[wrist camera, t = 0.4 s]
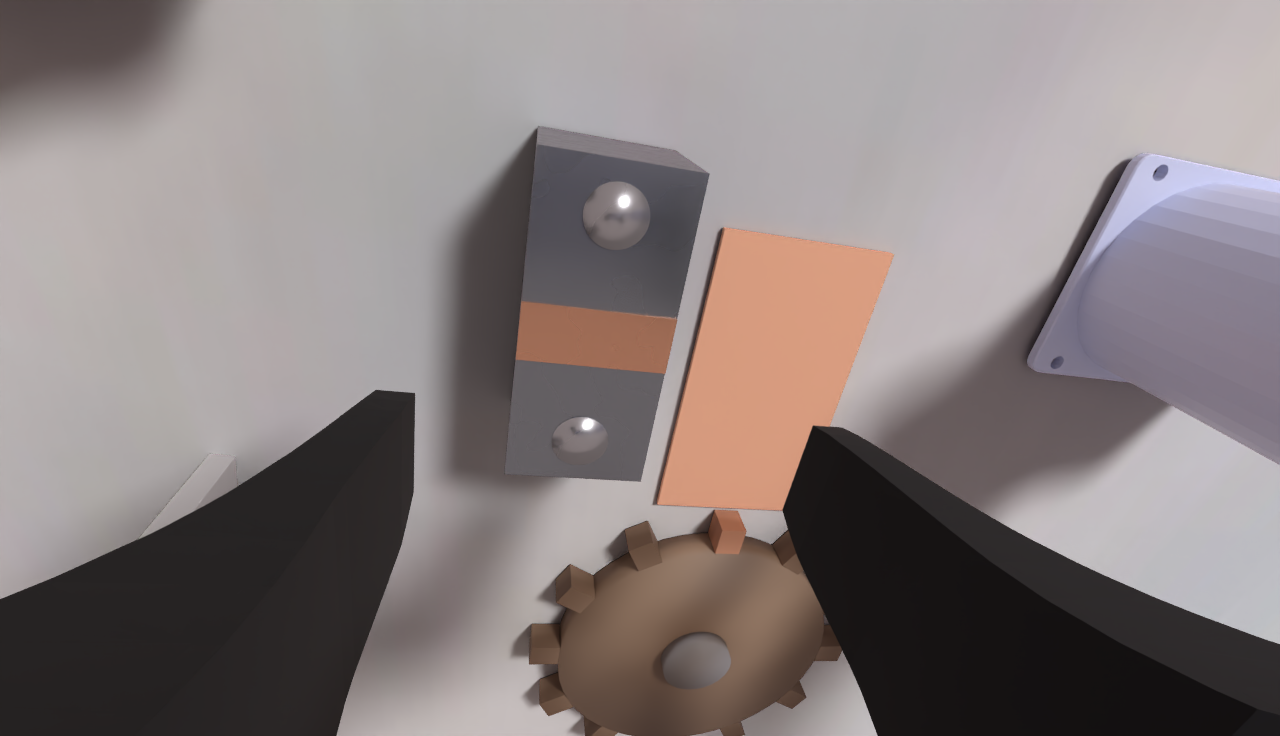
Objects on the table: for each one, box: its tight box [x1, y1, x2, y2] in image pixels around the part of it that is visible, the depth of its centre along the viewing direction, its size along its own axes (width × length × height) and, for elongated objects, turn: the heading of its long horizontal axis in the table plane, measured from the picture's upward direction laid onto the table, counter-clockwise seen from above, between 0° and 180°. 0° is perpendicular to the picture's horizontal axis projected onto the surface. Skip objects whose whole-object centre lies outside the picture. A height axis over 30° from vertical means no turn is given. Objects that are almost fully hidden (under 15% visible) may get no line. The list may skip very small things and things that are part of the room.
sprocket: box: [529, 510, 842, 736], centre depth 27 cm, size 14×14×2 cm
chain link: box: [504, 126, 709, 482], centre depth 17 cm, size 4×9×4 cm, turn 170°
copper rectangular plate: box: [657, 227, 894, 510], centre depth 22 cm, size 6×11×1 cm, turn 170°
